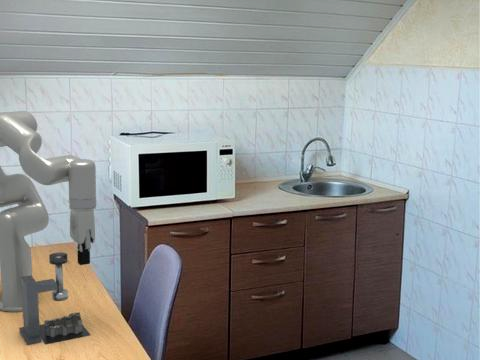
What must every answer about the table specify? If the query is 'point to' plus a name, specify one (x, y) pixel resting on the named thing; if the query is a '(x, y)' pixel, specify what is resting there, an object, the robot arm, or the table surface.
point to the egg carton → (64, 325)
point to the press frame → (31, 313)
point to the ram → (59, 275)
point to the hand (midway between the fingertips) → (83, 263)
